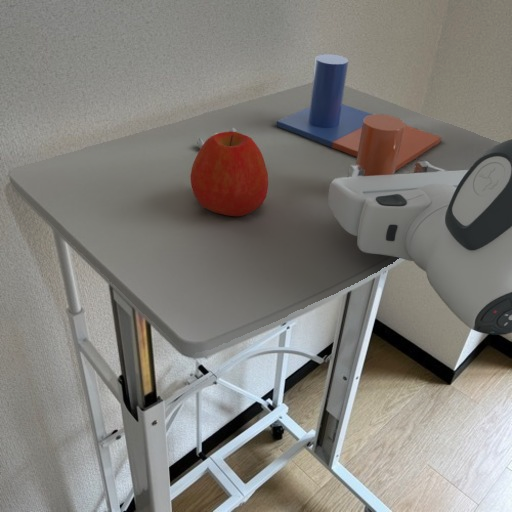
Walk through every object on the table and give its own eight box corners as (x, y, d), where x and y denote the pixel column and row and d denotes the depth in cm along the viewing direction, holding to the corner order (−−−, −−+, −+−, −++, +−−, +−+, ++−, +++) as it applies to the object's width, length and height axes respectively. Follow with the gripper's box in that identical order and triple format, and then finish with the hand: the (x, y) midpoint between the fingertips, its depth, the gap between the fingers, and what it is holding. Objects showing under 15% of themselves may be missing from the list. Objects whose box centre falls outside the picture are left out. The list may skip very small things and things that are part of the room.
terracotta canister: (396, 194, 80) (412, 122, 74) (376, 208, 77) (391, 134, 70) (363, 181, 83) (377, 111, 76) (343, 193, 79) (355, 121, 73)
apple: (187, 224, 71) (185, 149, 65) (195, 185, 79) (194, 115, 73) (266, 228, 71) (272, 153, 65) (266, 189, 79) (271, 120, 73)
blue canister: (345, 122, 99) (354, 59, 92) (327, 130, 95) (336, 66, 89) (320, 113, 101) (327, 52, 95) (302, 121, 98) (308, 58, 91)
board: (440, 142, 96) (441, 137, 95) (394, 171, 86) (396, 166, 85) (327, 104, 108) (328, 99, 108) (276, 126, 98) (276, 120, 98)
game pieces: (200, 151, 88) (200, 140, 87) (193, 147, 89) (193, 135, 88) (240, 140, 92) (240, 129, 91) (232, 136, 94) (233, 125, 93)
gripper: (524, 194, 63) (463, 142, 74) (356, 205, 59) (318, 149, 70) (506, 239, 67) (451, 184, 78) (347, 253, 63) (313, 193, 74)
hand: (387, 167), depth 74 cm, fingers open, 8 cm apart
